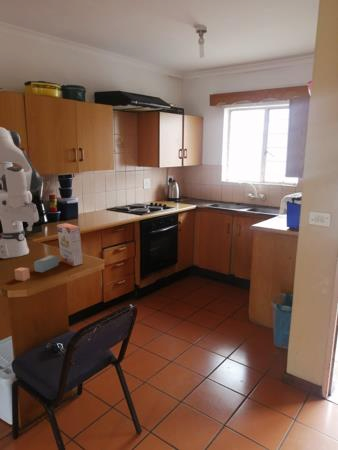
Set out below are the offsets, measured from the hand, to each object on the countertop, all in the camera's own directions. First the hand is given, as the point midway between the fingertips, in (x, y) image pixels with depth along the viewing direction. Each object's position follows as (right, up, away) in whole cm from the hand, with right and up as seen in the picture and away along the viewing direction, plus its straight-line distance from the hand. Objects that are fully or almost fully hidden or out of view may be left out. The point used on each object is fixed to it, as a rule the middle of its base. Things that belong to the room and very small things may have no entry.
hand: (22, 229), depth 168 cm
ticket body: (+7, -20, +14) cm, 25 cm away
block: (+1, -24, -1) cm, 24 cm away
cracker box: (+18, -18, +21) cm, 33 cm away
